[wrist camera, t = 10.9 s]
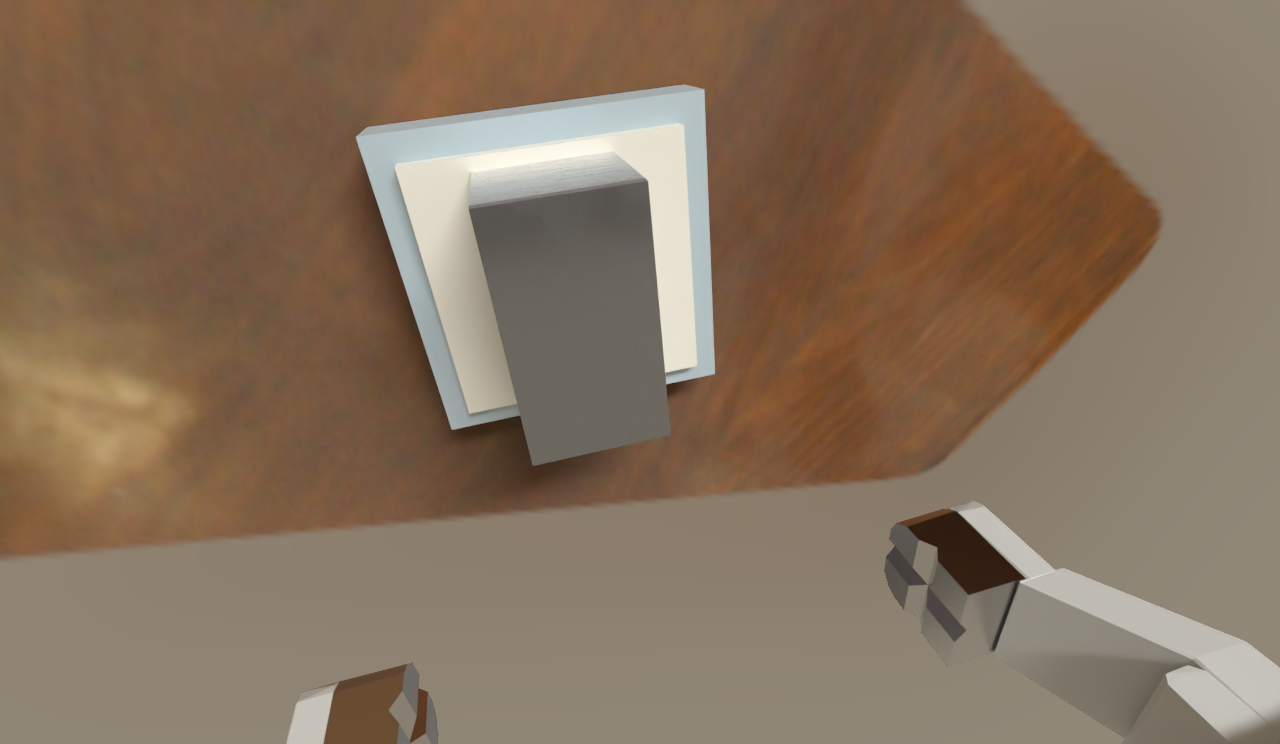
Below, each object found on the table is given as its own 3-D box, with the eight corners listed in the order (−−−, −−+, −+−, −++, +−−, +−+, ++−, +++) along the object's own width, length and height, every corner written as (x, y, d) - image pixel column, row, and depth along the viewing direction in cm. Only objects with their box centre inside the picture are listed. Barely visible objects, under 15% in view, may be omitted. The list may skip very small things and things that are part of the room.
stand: (453, 400, 27) (451, 437, 25) (367, 127, 21) (352, 139, 19) (698, 350, 29) (719, 380, 27) (684, 84, 23) (709, 90, 21)
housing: (471, 172, 20) (468, 209, 16) (613, 151, 21) (648, 181, 17) (523, 392, 25) (532, 466, 20) (638, 368, 25) (670, 434, 21)
